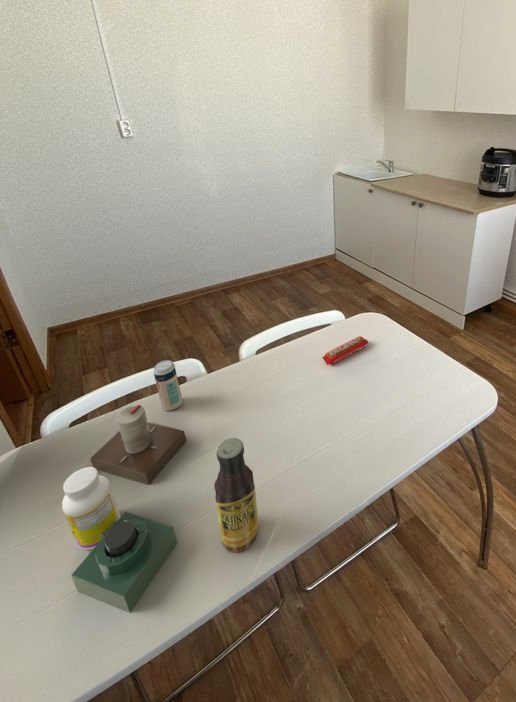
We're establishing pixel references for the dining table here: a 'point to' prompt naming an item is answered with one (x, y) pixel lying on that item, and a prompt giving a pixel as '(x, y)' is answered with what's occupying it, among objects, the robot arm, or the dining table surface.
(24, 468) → the dining table surface
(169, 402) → the pale pink canister
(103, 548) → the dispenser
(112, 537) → the dark grey push button
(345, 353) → the candy bar
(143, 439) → the dial
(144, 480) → the dial panel
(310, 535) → the dining table surface
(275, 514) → the dining table surface
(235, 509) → the sauce bottle
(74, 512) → the supplement bottle
